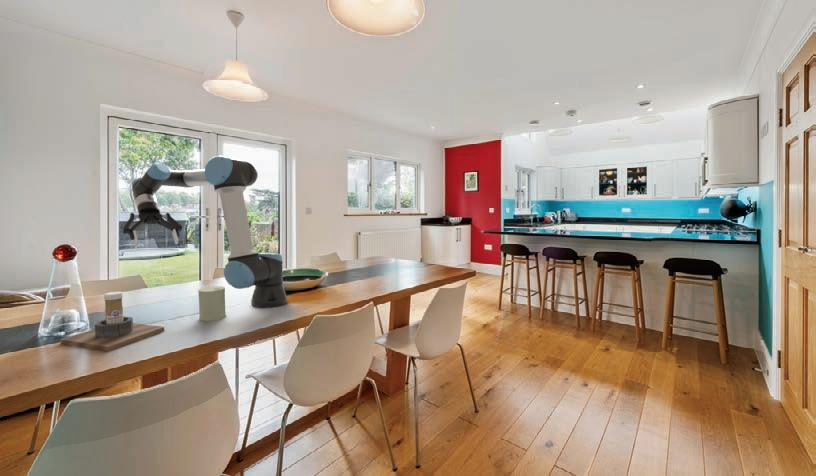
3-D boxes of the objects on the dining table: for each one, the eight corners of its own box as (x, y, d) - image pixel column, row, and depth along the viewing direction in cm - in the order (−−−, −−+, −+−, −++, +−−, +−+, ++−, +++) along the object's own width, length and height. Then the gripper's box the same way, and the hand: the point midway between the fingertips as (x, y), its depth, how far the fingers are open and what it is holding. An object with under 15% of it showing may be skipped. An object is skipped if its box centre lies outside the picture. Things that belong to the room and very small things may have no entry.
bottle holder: (164, 331, 120) (163, 315, 119) (107, 351, 103) (106, 333, 102) (121, 325, 125) (120, 310, 124) (60, 344, 108) (59, 326, 107)
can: (214, 322, 130) (213, 291, 129) (193, 320, 132) (192, 289, 131) (231, 314, 139) (230, 285, 138) (211, 313, 141) (210, 284, 140)
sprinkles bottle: (111, 335, 111) (108, 295, 110) (103, 333, 113) (100, 293, 111) (127, 331, 115) (125, 292, 114) (119, 329, 117) (117, 290, 116)
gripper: (179, 212, 161) (190, 247, 152) (110, 213, 143) (117, 252, 134) (182, 201, 157) (193, 236, 148) (110, 200, 139) (118, 239, 130)
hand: (157, 243), depth 141 cm, fingers open, 13 cm apart
